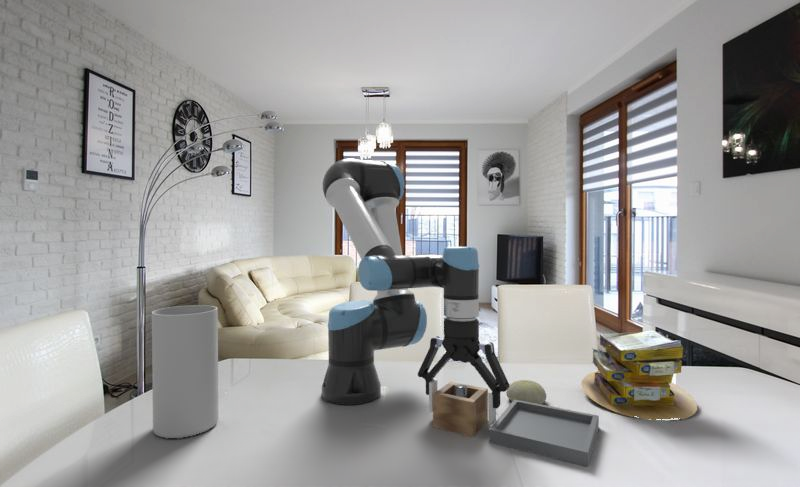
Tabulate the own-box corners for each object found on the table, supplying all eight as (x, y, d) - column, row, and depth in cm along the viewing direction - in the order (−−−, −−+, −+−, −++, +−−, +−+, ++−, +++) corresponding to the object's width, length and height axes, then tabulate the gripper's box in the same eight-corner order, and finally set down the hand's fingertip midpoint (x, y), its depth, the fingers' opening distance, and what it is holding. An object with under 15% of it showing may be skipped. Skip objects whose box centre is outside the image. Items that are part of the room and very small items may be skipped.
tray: (488, 441, 85) (489, 429, 85) (514, 409, 100) (514, 399, 100) (587, 466, 76) (587, 452, 76) (598, 427, 91) (598, 415, 91)
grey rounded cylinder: (452, 424, 93) (453, 387, 92) (457, 419, 95) (457, 383, 95) (464, 427, 91) (464, 389, 91) (468, 422, 94) (468, 386, 93)
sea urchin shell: (552, 402, 100) (527, 376, 101) (527, 424, 101) (503, 398, 102) (547, 388, 109) (524, 365, 110) (524, 408, 110) (501, 385, 111)
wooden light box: (433, 426, 91) (433, 394, 91) (454, 408, 101) (454, 378, 101) (473, 436, 87) (473, 402, 87) (491, 416, 97) (491, 385, 97)
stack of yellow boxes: (717, 426, 92) (718, 348, 91) (592, 415, 97) (593, 342, 97) (672, 387, 116) (673, 325, 115) (574, 379, 121) (575, 321, 121)
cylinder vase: (231, 418, 95) (230, 306, 95) (186, 444, 84) (185, 317, 83) (187, 411, 100) (186, 304, 99) (138, 434, 88) (137, 313, 87)
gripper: (402, 315, 96) (403, 410, 96) (513, 326, 83) (514, 435, 83) (418, 310, 102) (418, 399, 102) (523, 320, 90) (524, 421, 90)
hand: (461, 416), depth 93 cm, fingers open, 13 cm apart
